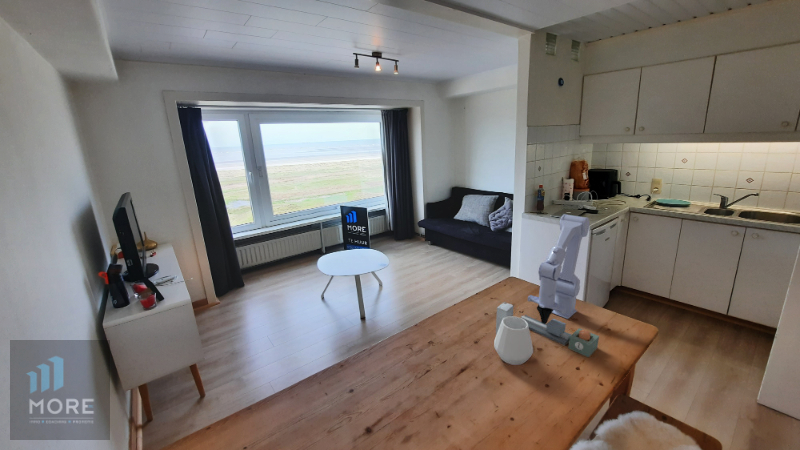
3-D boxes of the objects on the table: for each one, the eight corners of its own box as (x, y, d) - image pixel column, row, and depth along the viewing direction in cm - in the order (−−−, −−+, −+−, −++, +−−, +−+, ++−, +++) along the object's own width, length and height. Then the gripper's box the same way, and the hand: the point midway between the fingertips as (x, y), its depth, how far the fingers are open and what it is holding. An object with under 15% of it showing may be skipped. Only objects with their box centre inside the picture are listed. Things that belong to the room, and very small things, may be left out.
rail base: (525, 317, 141) (525, 313, 141) (572, 338, 126) (573, 333, 126) (516, 323, 137) (516, 319, 136) (564, 345, 122) (565, 340, 122)
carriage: (552, 327, 131) (553, 318, 130) (564, 332, 128) (565, 323, 126) (546, 331, 128) (547, 323, 127) (558, 337, 124) (559, 328, 123)
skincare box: (505, 338, 128) (506, 311, 124) (494, 334, 131) (496, 307, 127) (512, 331, 132) (514, 305, 128) (502, 327, 135) (504, 301, 131)
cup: (489, 362, 115) (491, 328, 111) (497, 340, 126) (499, 309, 123) (529, 373, 109) (533, 338, 105) (534, 350, 120) (537, 317, 116)
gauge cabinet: (577, 339, 126) (579, 328, 124) (597, 347, 121) (599, 336, 119) (567, 348, 121) (569, 337, 119) (588, 358, 115) (589, 345, 114)
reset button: (580, 338, 122) (581, 328, 121) (590, 342, 120) (592, 333, 119) (576, 342, 120) (577, 332, 119) (586, 347, 118) (588, 337, 116)
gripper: (524, 289, 130) (522, 319, 134) (561, 302, 119) (557, 334, 123) (533, 283, 134) (531, 312, 138) (569, 296, 124) (566, 327, 127)
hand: (544, 322), depth 131 cm, fingers closed
